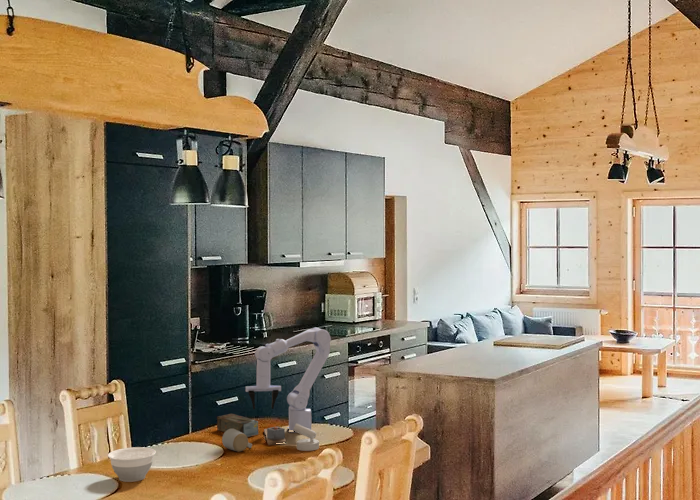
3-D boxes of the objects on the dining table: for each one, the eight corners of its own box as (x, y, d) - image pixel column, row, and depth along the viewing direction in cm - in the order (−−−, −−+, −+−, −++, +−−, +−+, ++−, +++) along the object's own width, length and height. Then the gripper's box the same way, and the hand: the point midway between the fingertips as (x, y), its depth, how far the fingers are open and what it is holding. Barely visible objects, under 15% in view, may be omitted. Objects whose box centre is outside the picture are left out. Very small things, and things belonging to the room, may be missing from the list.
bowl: (137, 468, 298) (136, 444, 297) (165, 476, 288) (165, 451, 287) (98, 479, 285) (98, 454, 285) (126, 488, 275) (126, 462, 275)
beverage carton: (243, 438, 340) (243, 422, 340) (215, 430, 354) (215, 415, 354) (259, 435, 346) (258, 419, 346) (231, 427, 360) (231, 412, 360)
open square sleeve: (277, 436, 338) (277, 426, 337) (284, 438, 334) (284, 428, 334) (267, 438, 334) (267, 428, 334) (274, 440, 330) (274, 430, 330)
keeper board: (280, 431, 351) (280, 417, 351) (286, 444, 330) (285, 429, 330) (264, 431, 350) (263, 418, 350) (268, 445, 328) (268, 430, 328)
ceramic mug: (233, 454, 316) (233, 433, 316) (221, 449, 322) (221, 429, 322) (256, 449, 323) (256, 429, 323) (244, 445, 329) (244, 425, 329)
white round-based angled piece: (293, 420, 328) (319, 420, 328) (294, 445, 328) (319, 445, 328) (291, 425, 320) (318, 425, 319) (292, 450, 320) (318, 450, 320)
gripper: (280, 373, 352) (279, 406, 352) (245, 374, 349) (245, 407, 349) (281, 376, 345) (281, 409, 345) (246, 377, 342) (245, 410, 342)
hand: (263, 408), depth 347 cm, fingers open, 7 cm apart
